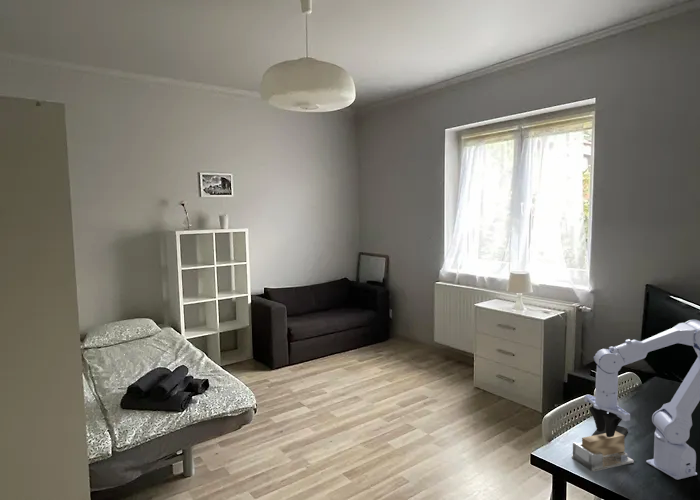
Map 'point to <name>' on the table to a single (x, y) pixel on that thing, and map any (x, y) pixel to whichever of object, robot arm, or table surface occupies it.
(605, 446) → the oak rail
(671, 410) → the robot arm
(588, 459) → the bracket board
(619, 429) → the phone
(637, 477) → the table surface
